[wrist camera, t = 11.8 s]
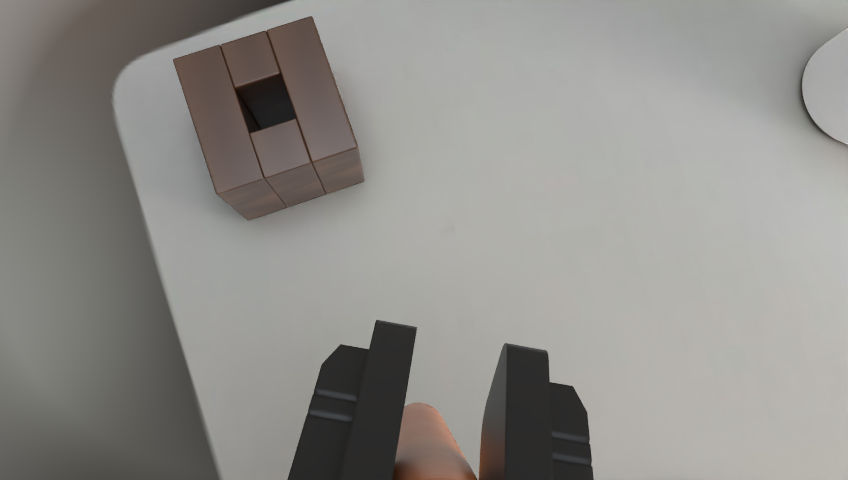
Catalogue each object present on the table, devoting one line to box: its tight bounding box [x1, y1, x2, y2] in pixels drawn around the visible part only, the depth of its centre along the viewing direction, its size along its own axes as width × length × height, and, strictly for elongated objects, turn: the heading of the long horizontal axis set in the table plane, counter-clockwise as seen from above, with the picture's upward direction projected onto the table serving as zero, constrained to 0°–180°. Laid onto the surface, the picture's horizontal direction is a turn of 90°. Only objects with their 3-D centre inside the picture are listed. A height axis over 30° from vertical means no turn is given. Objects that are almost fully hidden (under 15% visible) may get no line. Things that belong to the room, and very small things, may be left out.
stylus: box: [392, 403, 477, 480], centre depth 15 cm, size 2×2×14 cm
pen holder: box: [173, 16, 364, 220], centre depth 37 cm, size 7×7×7 cm
